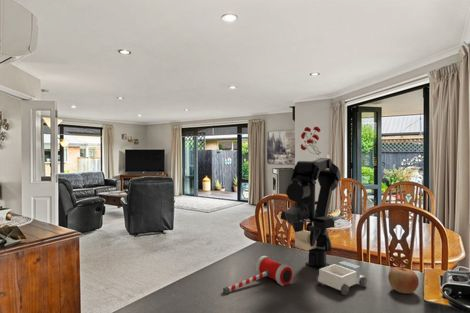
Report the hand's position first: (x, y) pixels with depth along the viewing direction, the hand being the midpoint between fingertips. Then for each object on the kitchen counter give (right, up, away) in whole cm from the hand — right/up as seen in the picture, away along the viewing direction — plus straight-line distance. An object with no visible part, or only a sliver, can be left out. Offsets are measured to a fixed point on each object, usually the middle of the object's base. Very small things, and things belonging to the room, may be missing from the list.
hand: (305, 244), depth 102 cm
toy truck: (+10, -11, -7) cm, 16 cm away
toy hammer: (-16, -11, -6) cm, 20 cm away
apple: (+27, -12, -11) cm, 31 cm away
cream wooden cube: (0, -1, 0) cm, 1 cm away
